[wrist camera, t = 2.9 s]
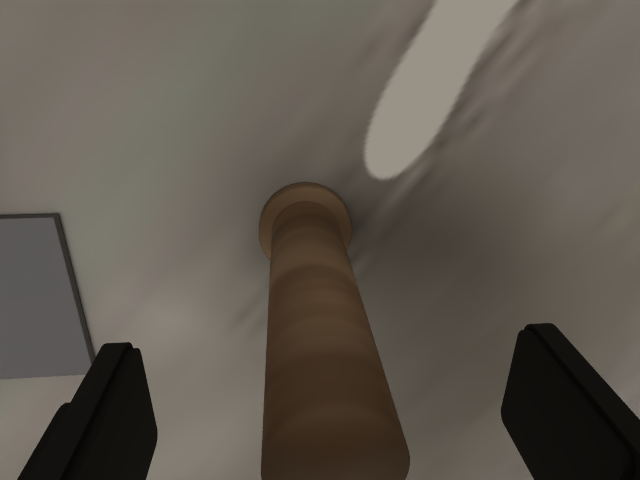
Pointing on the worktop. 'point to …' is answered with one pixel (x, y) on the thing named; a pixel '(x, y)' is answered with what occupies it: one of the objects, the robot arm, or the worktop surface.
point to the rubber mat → (39, 301)
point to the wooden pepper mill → (321, 351)
